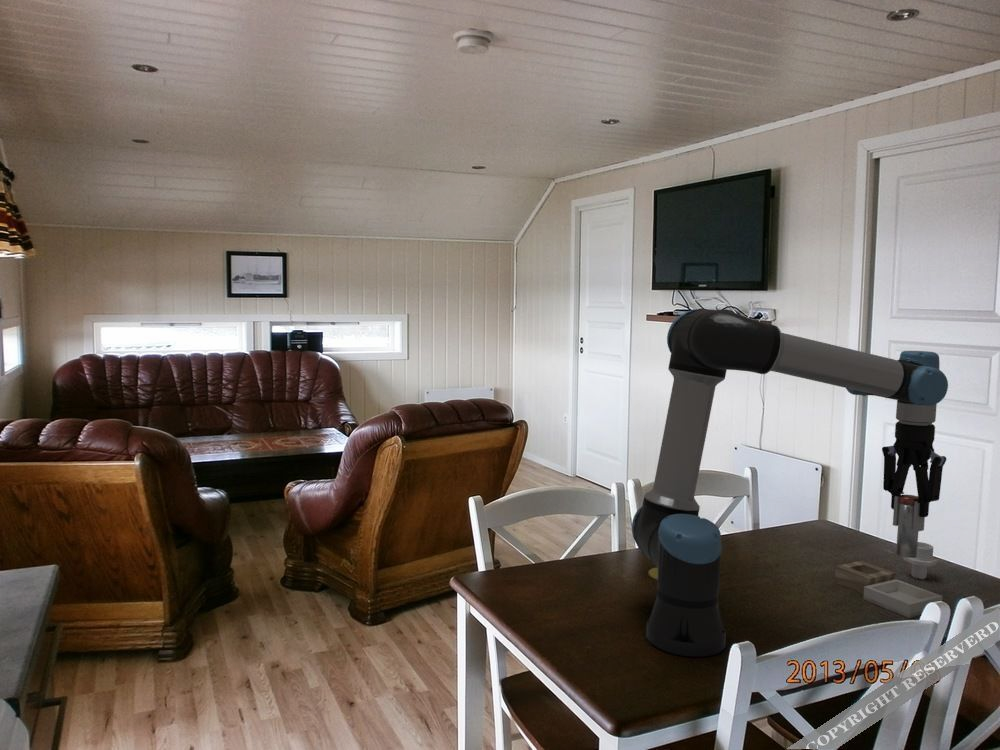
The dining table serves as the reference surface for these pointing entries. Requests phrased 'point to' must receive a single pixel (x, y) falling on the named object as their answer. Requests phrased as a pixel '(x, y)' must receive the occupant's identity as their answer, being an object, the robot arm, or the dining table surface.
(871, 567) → the socket block
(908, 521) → the grey tall cylinder
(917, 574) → the pipe fitting
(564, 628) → the dining table surface
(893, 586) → the dish
